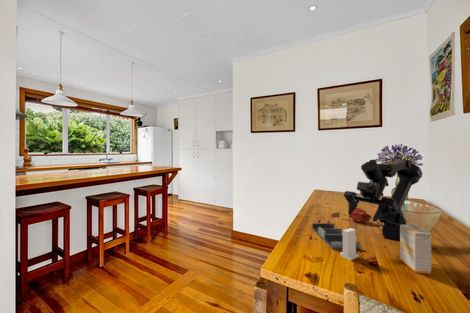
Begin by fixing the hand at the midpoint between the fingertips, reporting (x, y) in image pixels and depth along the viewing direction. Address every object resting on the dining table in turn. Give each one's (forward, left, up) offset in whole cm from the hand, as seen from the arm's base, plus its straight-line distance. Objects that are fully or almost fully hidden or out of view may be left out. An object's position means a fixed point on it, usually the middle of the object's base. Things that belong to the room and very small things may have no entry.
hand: (360, 217), depth 79 cm
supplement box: (-16, +2, -14) cm, 21 cm away
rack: (+11, -7, -13) cm, 19 cm away
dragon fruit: (+3, -39, -14) cm, 41 cm away
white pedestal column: (+3, +7, -13) cm, 15 cm away
